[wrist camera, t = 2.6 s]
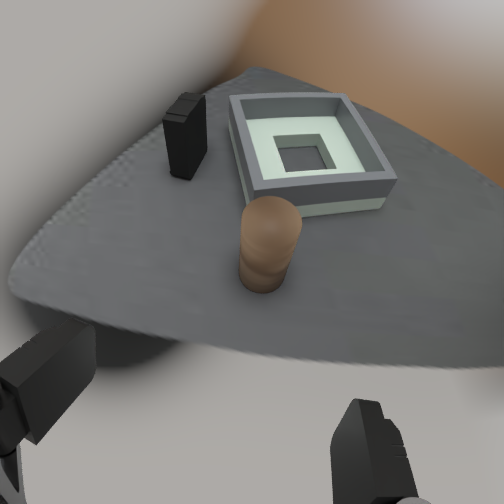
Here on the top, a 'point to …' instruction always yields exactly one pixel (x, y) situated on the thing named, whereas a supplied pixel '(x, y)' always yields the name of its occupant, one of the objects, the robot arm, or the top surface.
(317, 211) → the socket box
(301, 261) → the top surface
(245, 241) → the peg
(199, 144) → the ink cartridge
